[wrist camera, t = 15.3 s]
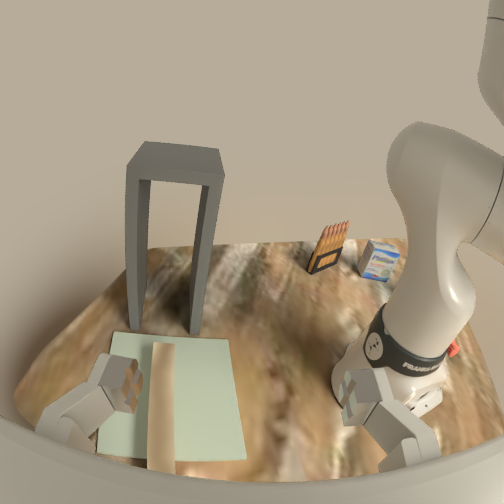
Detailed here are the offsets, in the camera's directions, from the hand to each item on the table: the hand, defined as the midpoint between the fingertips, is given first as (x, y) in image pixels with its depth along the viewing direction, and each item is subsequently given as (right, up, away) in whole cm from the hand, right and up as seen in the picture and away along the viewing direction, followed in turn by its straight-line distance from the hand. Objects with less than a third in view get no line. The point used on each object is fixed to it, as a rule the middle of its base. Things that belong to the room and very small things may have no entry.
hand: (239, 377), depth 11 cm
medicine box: (+31, -1, +63) cm, 70 cm away
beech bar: (-11, -16, +22) cm, 29 cm away
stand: (-14, -5, +39) cm, 42 cm away
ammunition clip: (+17, +1, +61) cm, 63 cm away
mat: (-11, -14, +25) cm, 31 cm away
